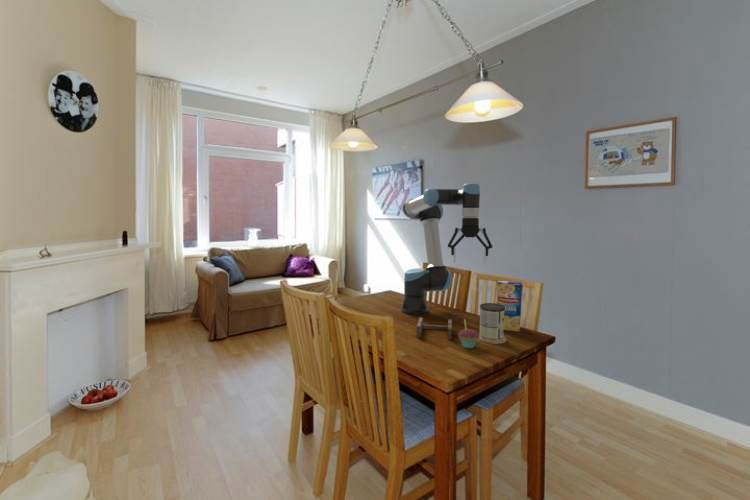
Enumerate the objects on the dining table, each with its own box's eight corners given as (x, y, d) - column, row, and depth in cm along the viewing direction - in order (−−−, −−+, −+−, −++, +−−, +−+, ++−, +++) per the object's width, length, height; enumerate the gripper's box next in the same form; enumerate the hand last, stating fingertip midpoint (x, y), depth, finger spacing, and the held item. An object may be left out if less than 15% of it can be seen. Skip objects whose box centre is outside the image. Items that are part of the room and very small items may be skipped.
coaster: (476, 333, 166) (476, 331, 166) (504, 335, 164) (504, 333, 164) (478, 342, 155) (478, 341, 155) (508, 344, 152) (508, 343, 152)
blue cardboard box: (496, 324, 179) (497, 280, 177) (519, 327, 175) (522, 282, 173) (495, 328, 173) (497, 283, 170) (520, 331, 169) (522, 285, 166)
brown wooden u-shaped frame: (419, 327, 175) (419, 317, 175) (451, 329, 172) (451, 319, 171) (416, 337, 161) (416, 326, 161) (451, 340, 158) (451, 328, 157)
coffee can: (478, 332, 165) (479, 302, 164) (501, 334, 163) (502, 303, 162) (479, 340, 155) (481, 308, 154) (505, 342, 153) (506, 309, 152)
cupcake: (458, 349, 147) (459, 320, 146) (457, 341, 156) (457, 314, 154) (480, 350, 146) (481, 321, 145) (477, 342, 155) (478, 315, 153)
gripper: (443, 217, 167) (442, 263, 169) (499, 217, 162) (497, 264, 164) (443, 217, 174) (442, 260, 177) (497, 217, 169) (496, 262, 171)
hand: (469, 262), depth 170 cm, fingers open, 13 cm apart
